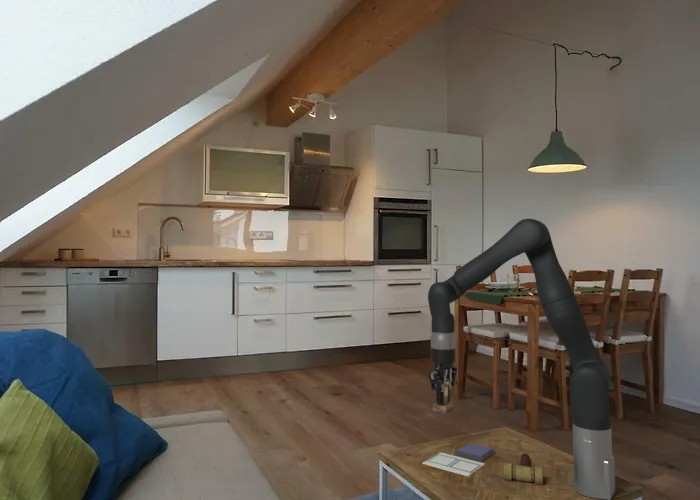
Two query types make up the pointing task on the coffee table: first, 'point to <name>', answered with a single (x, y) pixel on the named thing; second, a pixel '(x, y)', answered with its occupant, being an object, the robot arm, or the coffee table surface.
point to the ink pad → (475, 452)
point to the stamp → (446, 406)
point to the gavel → (523, 471)
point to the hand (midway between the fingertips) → (443, 402)
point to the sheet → (454, 464)
